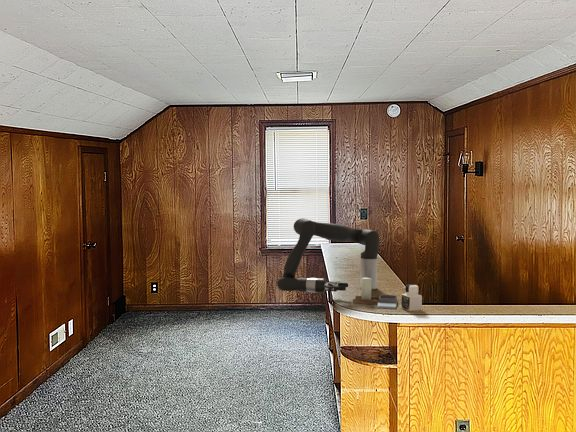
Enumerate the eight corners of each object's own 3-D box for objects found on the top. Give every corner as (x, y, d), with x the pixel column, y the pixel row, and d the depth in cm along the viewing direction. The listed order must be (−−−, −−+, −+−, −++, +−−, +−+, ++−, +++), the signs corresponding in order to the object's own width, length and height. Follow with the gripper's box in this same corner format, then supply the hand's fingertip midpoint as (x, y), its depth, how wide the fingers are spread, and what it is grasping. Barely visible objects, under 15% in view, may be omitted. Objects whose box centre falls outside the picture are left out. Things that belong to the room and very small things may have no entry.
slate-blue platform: (378, 304, 299) (378, 302, 299) (396, 305, 297) (396, 303, 297) (377, 307, 292) (377, 305, 292) (395, 308, 290) (395, 306, 289)
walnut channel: (355, 299, 311) (355, 295, 311) (378, 300, 308) (378, 296, 308) (353, 302, 302) (353, 299, 302) (377, 304, 299) (377, 300, 299)
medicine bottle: (401, 308, 291) (401, 283, 290) (413, 306, 294) (414, 282, 293) (409, 311, 285) (409, 286, 284) (421, 310, 287) (422, 285, 286)
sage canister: (361, 300, 308) (362, 277, 307) (371, 300, 307) (371, 277, 306) (360, 302, 303) (361, 279, 302) (370, 302, 302) (370, 279, 301)
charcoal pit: (380, 300, 308) (380, 294, 307) (396, 301, 306) (396, 295, 305) (378, 304, 299) (378, 298, 299) (396, 305, 297) (396, 299, 297)
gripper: (313, 280, 303) (345, 282, 299) (318, 275, 317) (348, 277, 313) (313, 295, 304) (344, 296, 300) (318, 289, 318) (348, 291, 314)
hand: (346, 286), depth 307 cm, fingers open, 8 cm apart
